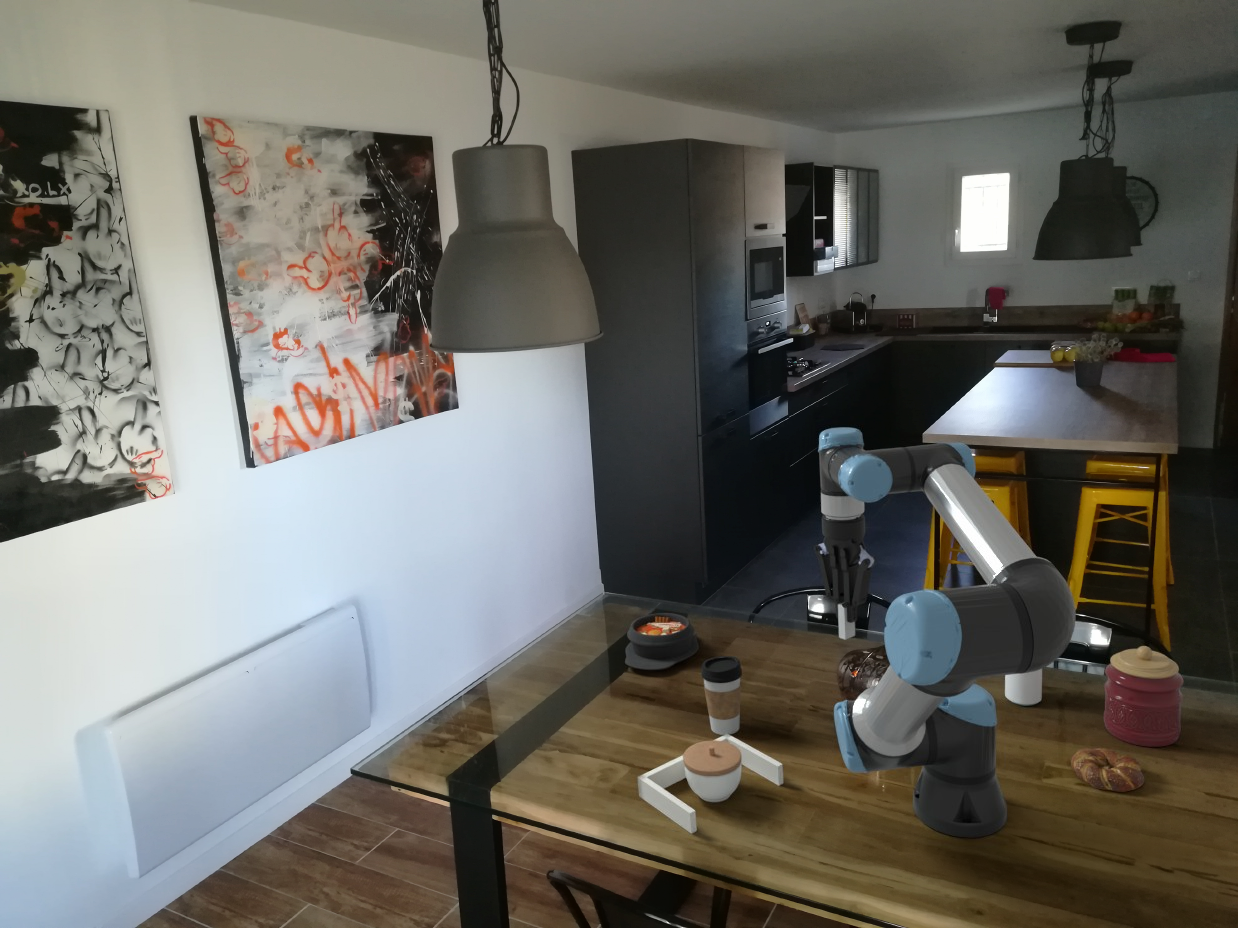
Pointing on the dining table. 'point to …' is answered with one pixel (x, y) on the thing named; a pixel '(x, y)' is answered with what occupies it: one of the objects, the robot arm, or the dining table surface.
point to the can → (1024, 688)
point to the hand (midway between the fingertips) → (847, 636)
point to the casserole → (660, 641)
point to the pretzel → (1107, 769)
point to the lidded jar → (713, 769)
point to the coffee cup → (723, 693)
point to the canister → (1143, 698)
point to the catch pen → (674, 771)
